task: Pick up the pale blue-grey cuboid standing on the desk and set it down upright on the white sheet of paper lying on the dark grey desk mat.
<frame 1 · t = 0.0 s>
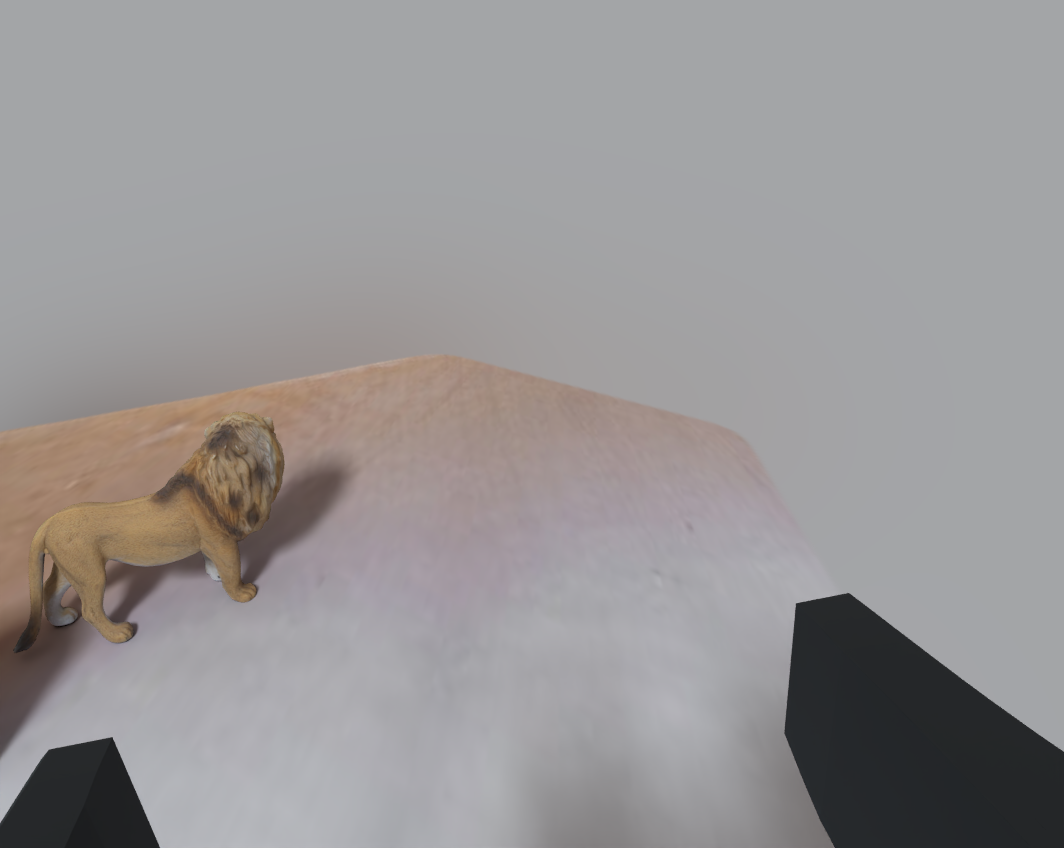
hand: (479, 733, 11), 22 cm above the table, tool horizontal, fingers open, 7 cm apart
lion figurine: (180, 600, 51), on the table
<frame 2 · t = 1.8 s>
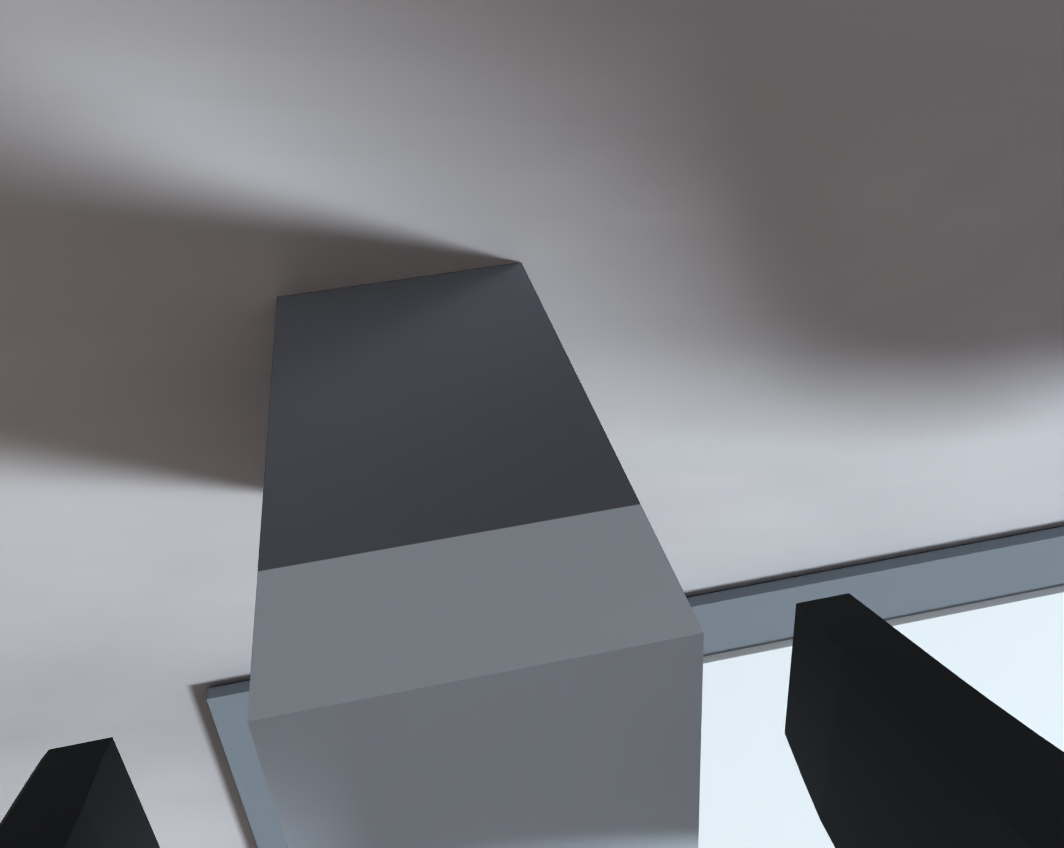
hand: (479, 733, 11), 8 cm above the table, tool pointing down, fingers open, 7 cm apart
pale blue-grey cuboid: (417, 386, 17), on the table
desk mat: (724, 827, 25), on the table
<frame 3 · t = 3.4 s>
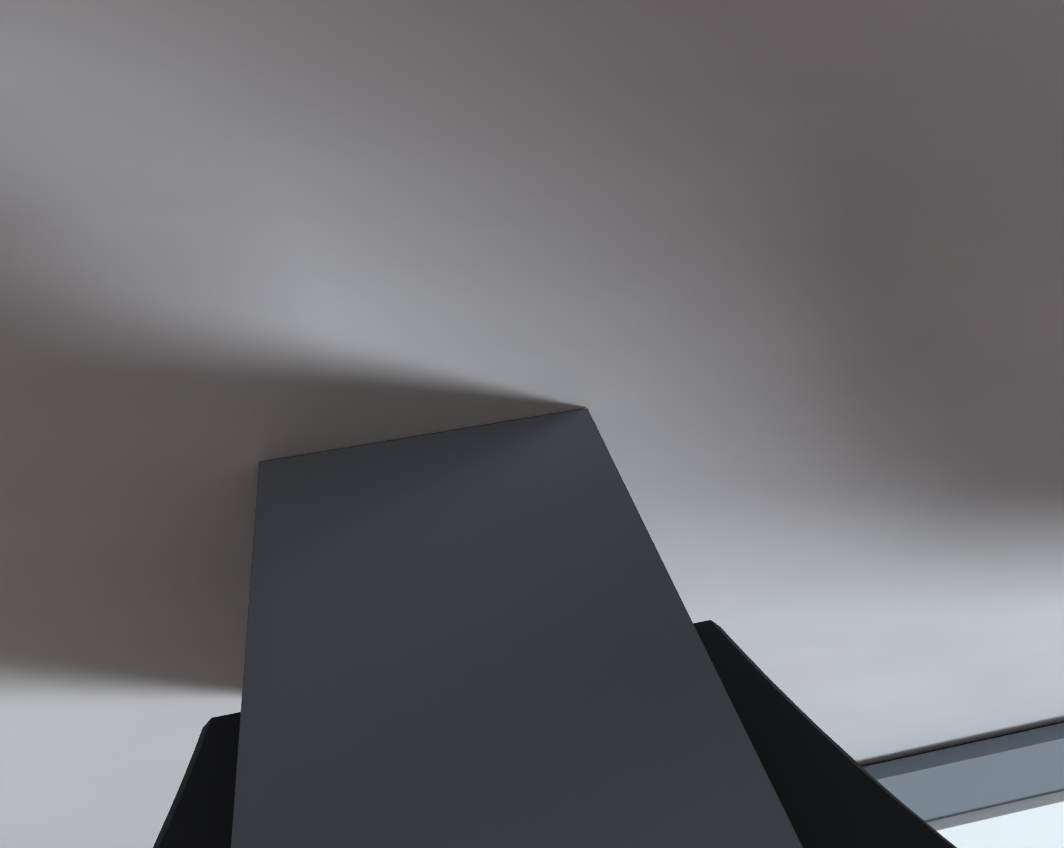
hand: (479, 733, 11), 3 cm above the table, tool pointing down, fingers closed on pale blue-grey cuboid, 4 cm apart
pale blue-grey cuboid: (446, 562, 13), on the table, touching gripper
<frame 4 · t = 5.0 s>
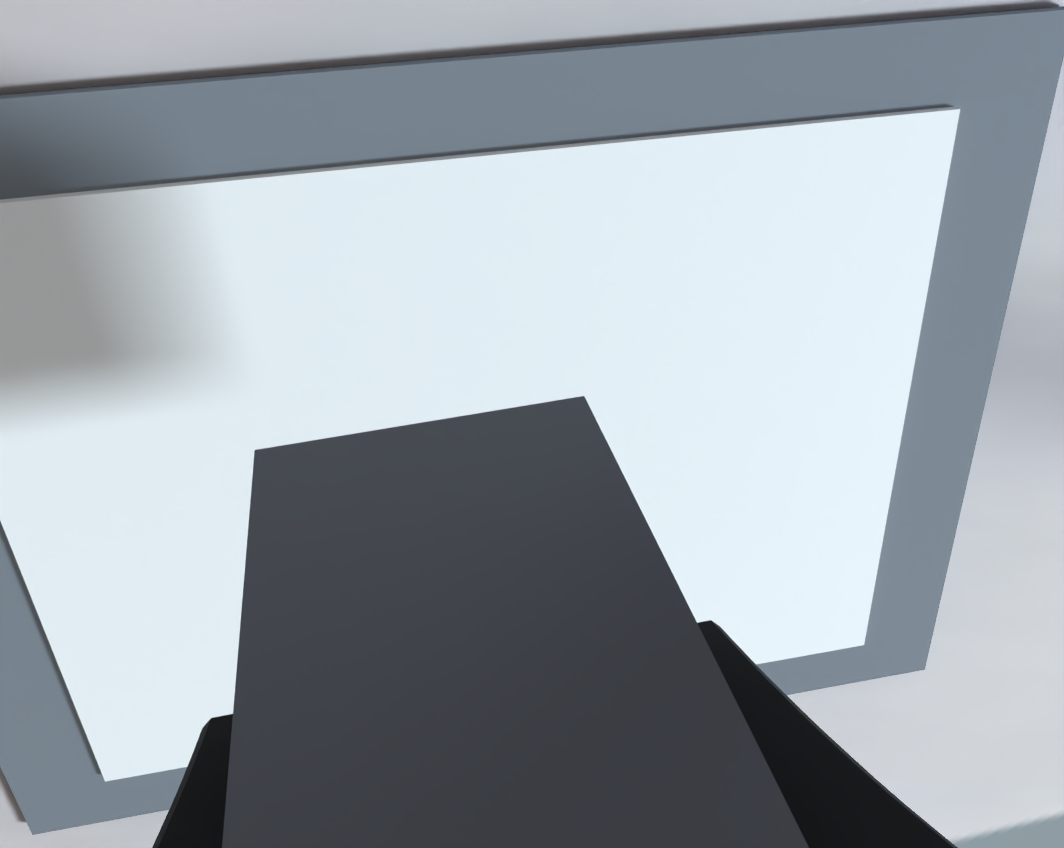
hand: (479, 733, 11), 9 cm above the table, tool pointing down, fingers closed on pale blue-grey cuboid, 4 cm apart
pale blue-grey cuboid: (442, 552, 13), point 6 cm above the table, touching gripper
desk mat: (483, 467, 20), on the table
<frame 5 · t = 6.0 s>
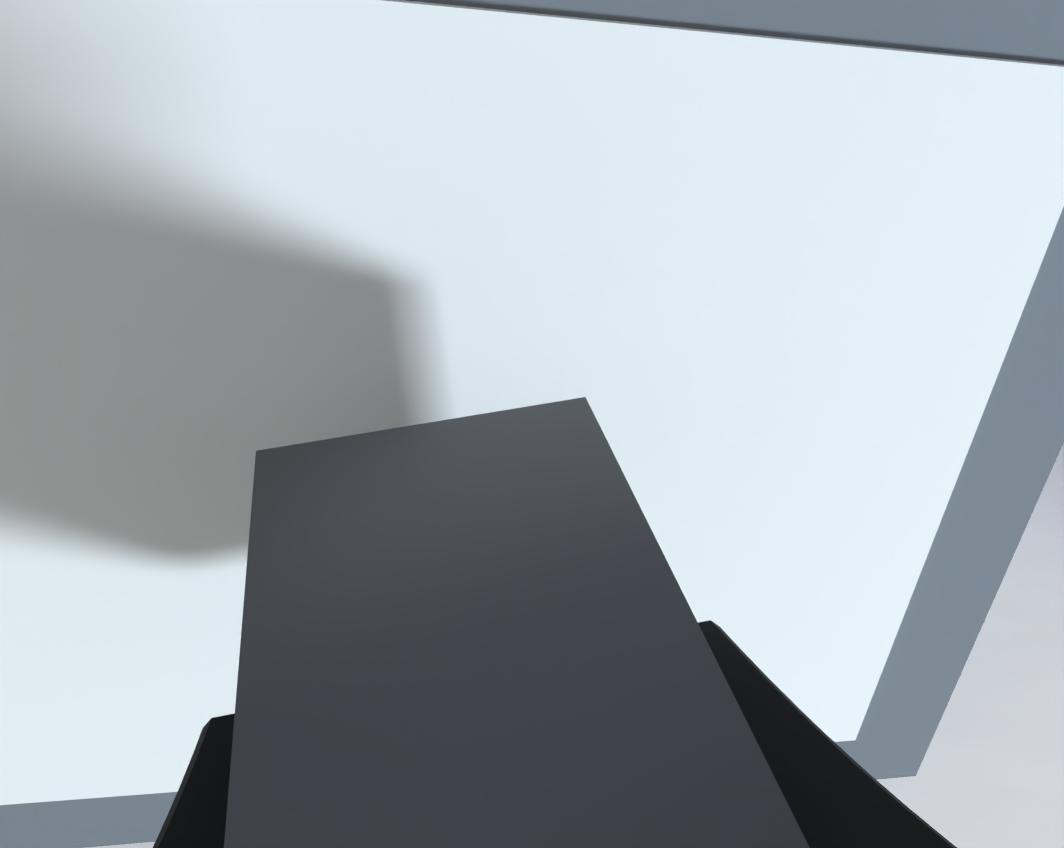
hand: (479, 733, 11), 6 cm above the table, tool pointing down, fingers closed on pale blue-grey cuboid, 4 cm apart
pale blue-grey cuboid: (443, 552, 13), point 3 cm above the table, touching gripper
desk mat: (428, 456, 15), on the table
when the fingers open (4 cm above the table, at t = 6.7 s): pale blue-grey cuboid stays where it is, resting on desk mat.
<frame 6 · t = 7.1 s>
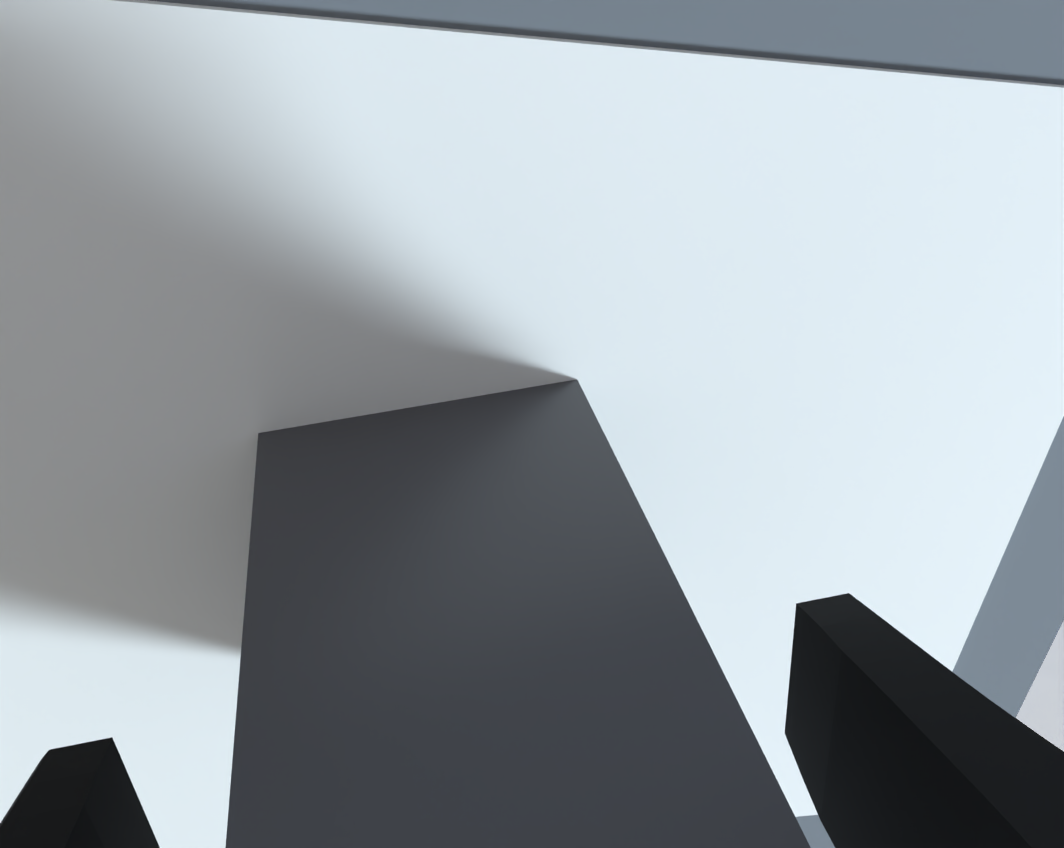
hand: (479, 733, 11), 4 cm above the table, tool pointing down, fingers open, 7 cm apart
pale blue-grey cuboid: (441, 532, 13), resting on desk mat
desk mat: (437, 519, 14), on the table
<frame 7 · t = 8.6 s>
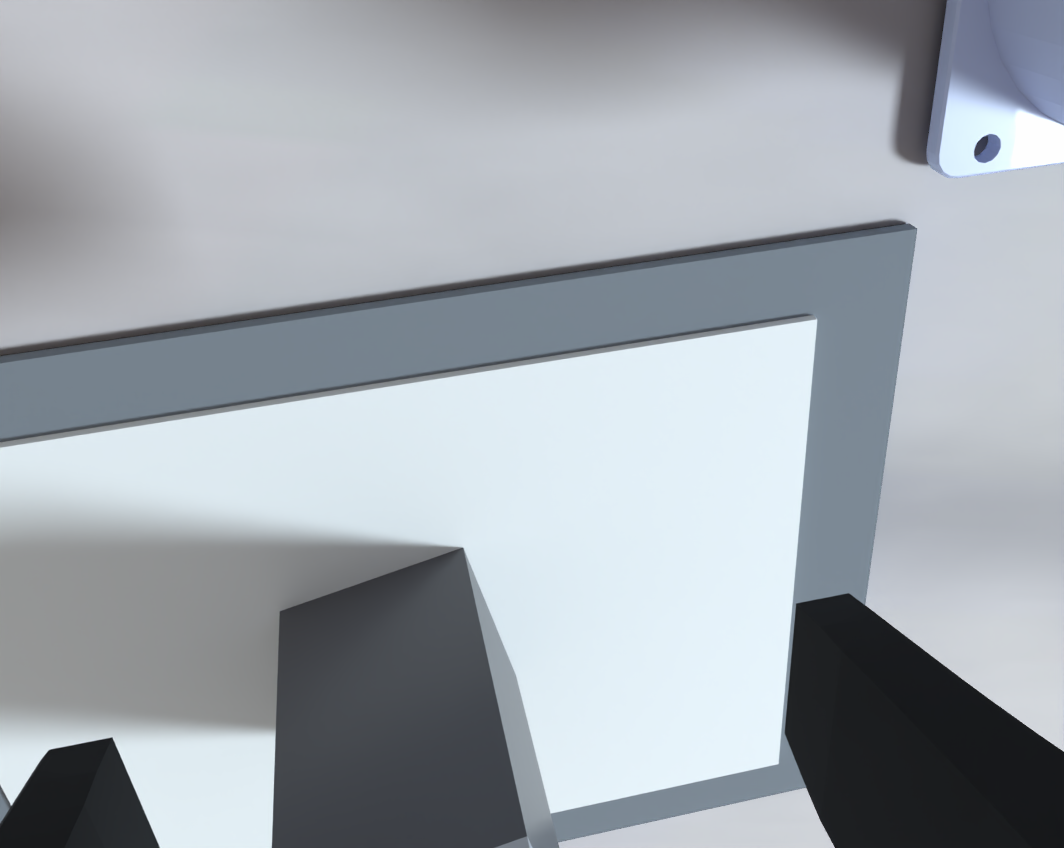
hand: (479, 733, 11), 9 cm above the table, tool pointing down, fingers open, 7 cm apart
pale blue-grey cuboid: (403, 645, 21), resting on desk mat
desk mat: (403, 634, 22), on the table
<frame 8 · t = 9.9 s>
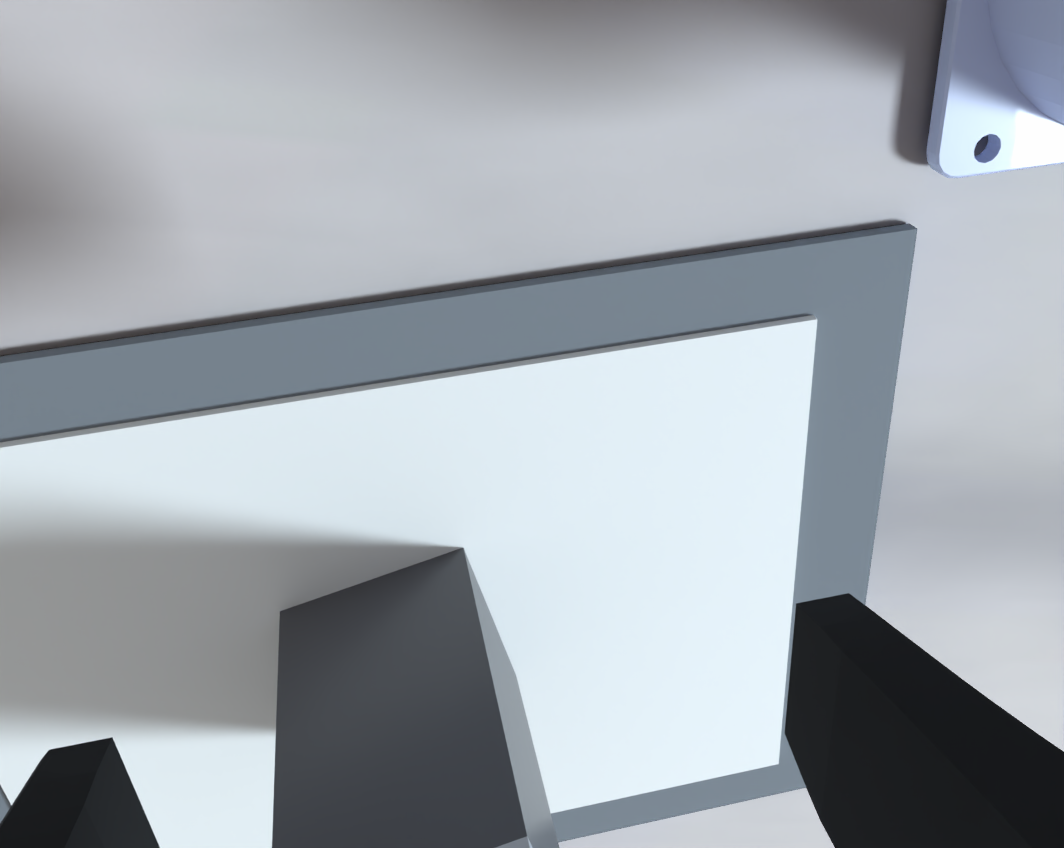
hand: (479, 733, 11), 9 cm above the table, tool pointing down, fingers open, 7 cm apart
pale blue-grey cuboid: (404, 645, 21), resting on desk mat
desk mat: (403, 634, 22), on the table
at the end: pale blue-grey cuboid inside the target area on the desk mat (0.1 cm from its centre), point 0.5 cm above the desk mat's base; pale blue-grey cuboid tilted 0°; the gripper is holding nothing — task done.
